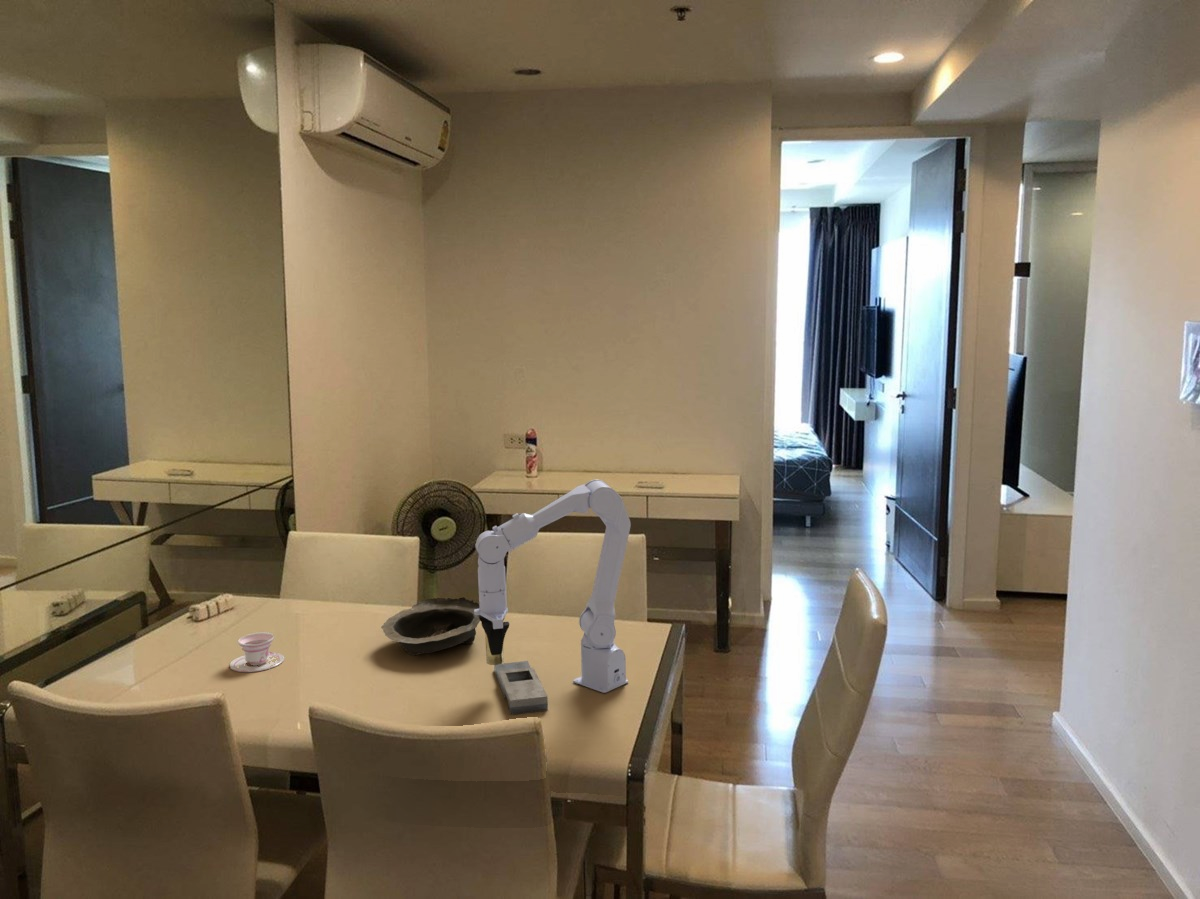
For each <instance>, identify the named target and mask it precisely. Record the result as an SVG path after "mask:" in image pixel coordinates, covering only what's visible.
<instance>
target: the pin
mask: <svg viewBox="0 0 1200 899" xmlns="http://www.w3.org/2000/svg"><path fill="white" fill-rule="evenodd" d="M484 634H485V653H486V654H485V655H486V659H485V660H486V664H488V665H491V666H494V665H498V664H503V663H505V662H504V648H503V649H502V653H501V654H499V655H491V652H490V648H489V643H488V638H487V635H486V632H485V631H484Z"/></svg>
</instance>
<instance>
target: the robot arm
mask: <svg viewBox="0 0 1200 899" xmlns="http://www.w3.org/2000/svg"><path fill="white" fill-rule="evenodd" d="M589 509H591V511H592V512H593V514H595V515H597V517H599V518H600V520H601V521H602V522H603V524H604V525H605V531H604V535H603V541H602V544H601V550H600V555H599V560H598V565H597V569H596V573H595V579H594V582H593V588H592V592H591V596H590V597H589V599H588V600H587V602H586V606H585V609H584V610H583V611H582V612H581V614H580V616H579V619H578V623H579V628H580V629H581V631H583V636H582V638H581V640H580V656H581V657H580V659H581V660H580V663H581V665H580V666H581V676H579V677H576V678H574V679H572V682H573V683H574V684H576V685H577V684H578V685H580V686H583V687H586V688H588V689H591V690H594V691H597V692H600V693H602V694H605V693H608V692H610V691H612V690H613V691H614V690H615V689H618V688H619V687H621V686H624V685H625V684H628V683H629V680H628V679H626V678H627V677H626V675H627V674H626V673H627V672H626V671H627V669H626V667H627V666H626V654H625V652H624V650H623V649H621V648H620V647H618V646H617V645H616V643H615V639H616V635H617V631H616V630H617V629H616V626H615V619H616V610H615V608H616V607H615V601H616V597H617V591H618V587H619V582H620V577H621V573H622V568H623V563H624V560H625V554H626V550H627V546H628V545H627V544H628V542H629V541H628V539H629V536H630V531H631V525H632V523H631V520H630V517H629V515H628V512H627V509H626V507H625V503H624V499H623V497H622V496H620V495H619V493H618V492H617V491H616V490H615V489H614V488H613V487H610V486H609V485H608V484H607V483H606V482H605V481H603V480H602V479H598V478H597V479H592V480H589V481H587V482H586V483H585V484H583V483H582V484H581V485H578V486H576V487H575V488H573V489H572V490H570V491H568V492H567V493H565V494H563V495H562V496H561V497H559V498H557V499H556V500H554V501H552V502H551V503H549V504H548V505H546V506H544V507H542V508H541V509H539V510H537V511H536V512H535V513H533V514H528V513H525V512H522V513H521V514H519V513H518V512H516V513H514V514H513V515H511V516H512V518H511V519H509V520H508V521H506V522H504V523H502V524H500V525H499V526H497V525H494V526H492V530H485V531H483V532H482V533H480V534H479V535H478V536H477V538H476V542H475V544H474V547H475V550H476V552H477V554H478V556H477V557H478V559H477V565H478V567H477V581H478V583H477V584H478V601H479V602H478V604H479V609H475V610H474V614H475V615H479V616H478V617H479V619H480V622H481V627H482V629H483V630H484V631H483V632H484V633H485V632H486V635H487V638H488V643H489V648H490V652H491V655H499V654H501V653H502V649H503V650H504V641H505V637H506V634H507V631H508V629H509V627H510V622H509V621H504V620H505V618H506V615H507V614H508V612H509V608H508V605H507V604H508V603H507V600H508V599H507V581H506V578H507V576H506V566H505V558H506V555H507V552H511V551H513V550H515V549H517V548H519V547H520V546H523V545H524V544H526V543H528V542H530V541H532V540H533V539H535V538H537V537H538V533H539V530H541V529H542V528H543V527H545V526H547V525H550V524H552V523H554V522H555V521H558V520H559V519H562V518H564V517H565V516H569V515H570V514H571V513H580V514H589V513H590V511H589Z"/></svg>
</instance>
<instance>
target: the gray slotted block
mask: <svg viewBox="0 0 1200 899" xmlns="http://www.w3.org/2000/svg"><path fill="white" fill-rule="evenodd" d="M493 666H494V670H493V672H494V673H495V675H496V680H497V681H498V684H499V686H500V690H501V692H502V695H503V698H504V700H507V702H508V704H507V706H508V708H507V709H508V711H509V714H510V715H511V716H513V715H521V714H527V713H528V714H529V713H536V712H537V713H538V712H546V711H549V708H548V707H549V706H548V703H549V702H548V694H547V692H546V691H545V688H544V686H543V684H542V682H541V680H540V678H539V676H538V674H537V672H536V669H535V668H534V667H533V666H532V667H531V665H530V663H529V661H528V660H524V661H522V660H521V661H514V662H513V661H511V662H506V663H505V662H503V663H501V664H498V665H493Z"/></svg>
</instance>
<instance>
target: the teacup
mask: <svg viewBox="0 0 1200 899" xmlns="http://www.w3.org/2000/svg"><path fill="white" fill-rule="evenodd" d="M274 638H275V636H274V634H273V633H272V632H268V631H267V632H266V631H262V632H261V631H258V632H252V633H249V634H245V635H244V636H241V637H240V638H239V639H238V640H237V643H238V645H239V647H241V650H242V651H243V652H244V655H241V656H238V657H237V658H234V659H233V660H232V661H231V662H230V663H229V668H230V669H231V670H232V671H234V672H239V673H255V672H256V673H257V672H261V671H266V670H269V669H270V670H271V669H273V668H275V667H278V666H279V665H281V664H282V663H283V662H284V661H285V656H284V655H283V654H282V653H278V652H276V651H270V647H271V645H272V642H273V641H274ZM272 656H275V657H277V658H279V661H277V660H276V661H275V663H274V662H272V661H271V660H273V659H276V658H274V657H273V658H272V659H270V658H269V657H272ZM267 660H268V661H267ZM266 661H267V663H266ZM269 661H271V662H270V664H269V663H268V662H269ZM246 663H247V664H248V663H249V664H250V665H251V666H248V665H247V664H246ZM244 664H245V666H244ZM274 664H275V665H274ZM238 665H239V668H237V666H238ZM252 665H253V666H252ZM257 665H258V666H260V667H258V666H257ZM271 665H273V666H271ZM270 666H271V667H270Z"/></svg>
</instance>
